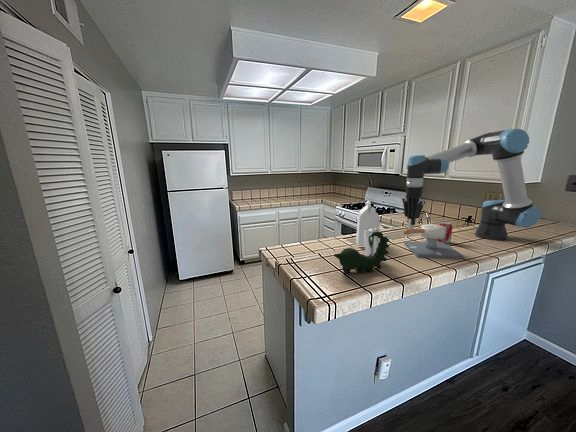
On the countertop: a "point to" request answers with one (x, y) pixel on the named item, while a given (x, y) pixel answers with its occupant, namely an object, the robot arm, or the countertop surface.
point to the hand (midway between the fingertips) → (410, 230)
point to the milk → (366, 222)
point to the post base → (432, 249)
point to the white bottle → (428, 231)
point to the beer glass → (370, 241)
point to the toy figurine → (356, 260)
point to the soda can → (446, 232)
